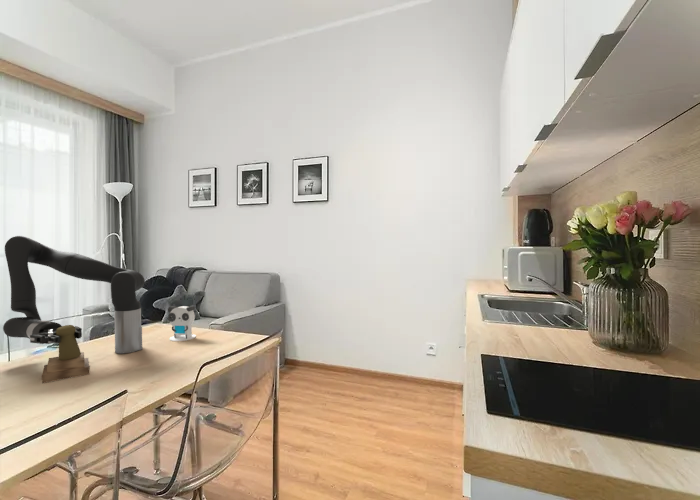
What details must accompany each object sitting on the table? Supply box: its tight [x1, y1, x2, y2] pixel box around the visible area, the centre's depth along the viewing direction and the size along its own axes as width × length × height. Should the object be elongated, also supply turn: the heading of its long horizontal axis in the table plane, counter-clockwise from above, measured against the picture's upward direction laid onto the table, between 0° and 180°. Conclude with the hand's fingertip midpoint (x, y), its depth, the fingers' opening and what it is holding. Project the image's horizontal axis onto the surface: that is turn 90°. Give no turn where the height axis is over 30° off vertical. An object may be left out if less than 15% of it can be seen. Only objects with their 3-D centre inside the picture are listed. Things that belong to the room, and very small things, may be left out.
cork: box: [56, 324, 82, 360], centre depth 116 cm, size 6×6×11 cm
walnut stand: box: [41, 352, 90, 384], centre depth 116 cm, size 12×12×5 cm
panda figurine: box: [167, 305, 197, 342], centre depth 159 cm, size 12×11×15 cm
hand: (69, 337), depth 114 cm, fingers open, 5 cm apart
